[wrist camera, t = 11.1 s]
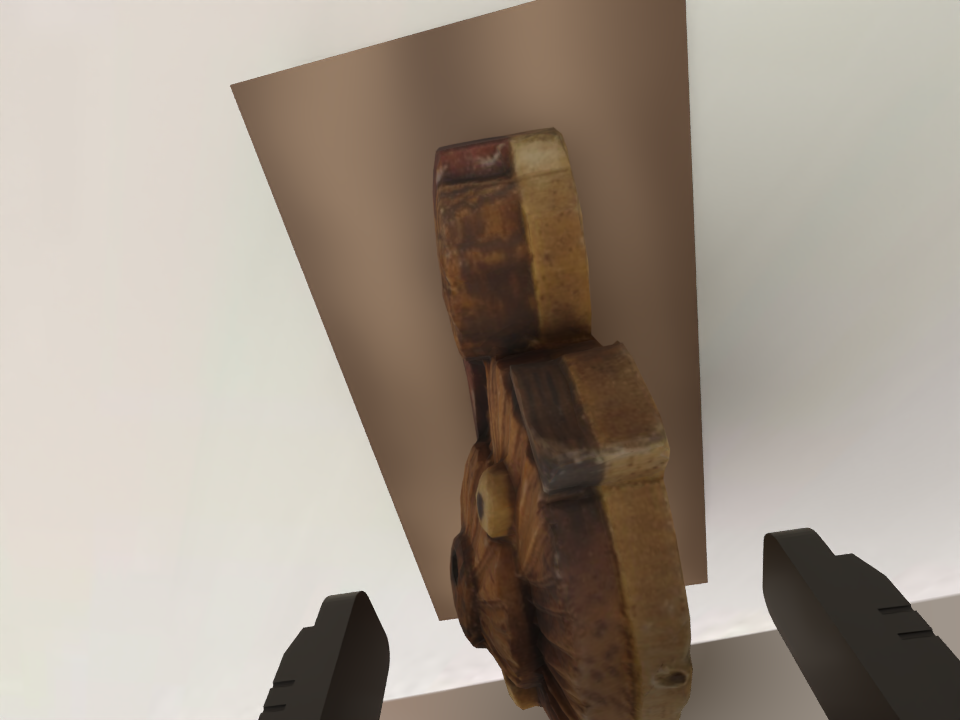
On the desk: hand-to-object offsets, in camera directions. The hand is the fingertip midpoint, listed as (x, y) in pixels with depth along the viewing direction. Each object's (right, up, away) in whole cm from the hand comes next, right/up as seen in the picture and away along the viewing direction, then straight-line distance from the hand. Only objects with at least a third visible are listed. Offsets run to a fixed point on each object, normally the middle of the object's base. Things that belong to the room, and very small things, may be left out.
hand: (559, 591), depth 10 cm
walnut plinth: (0, +5, +11) cm, 12 cm away
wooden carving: (0, +4, +7) cm, 8 cm away
